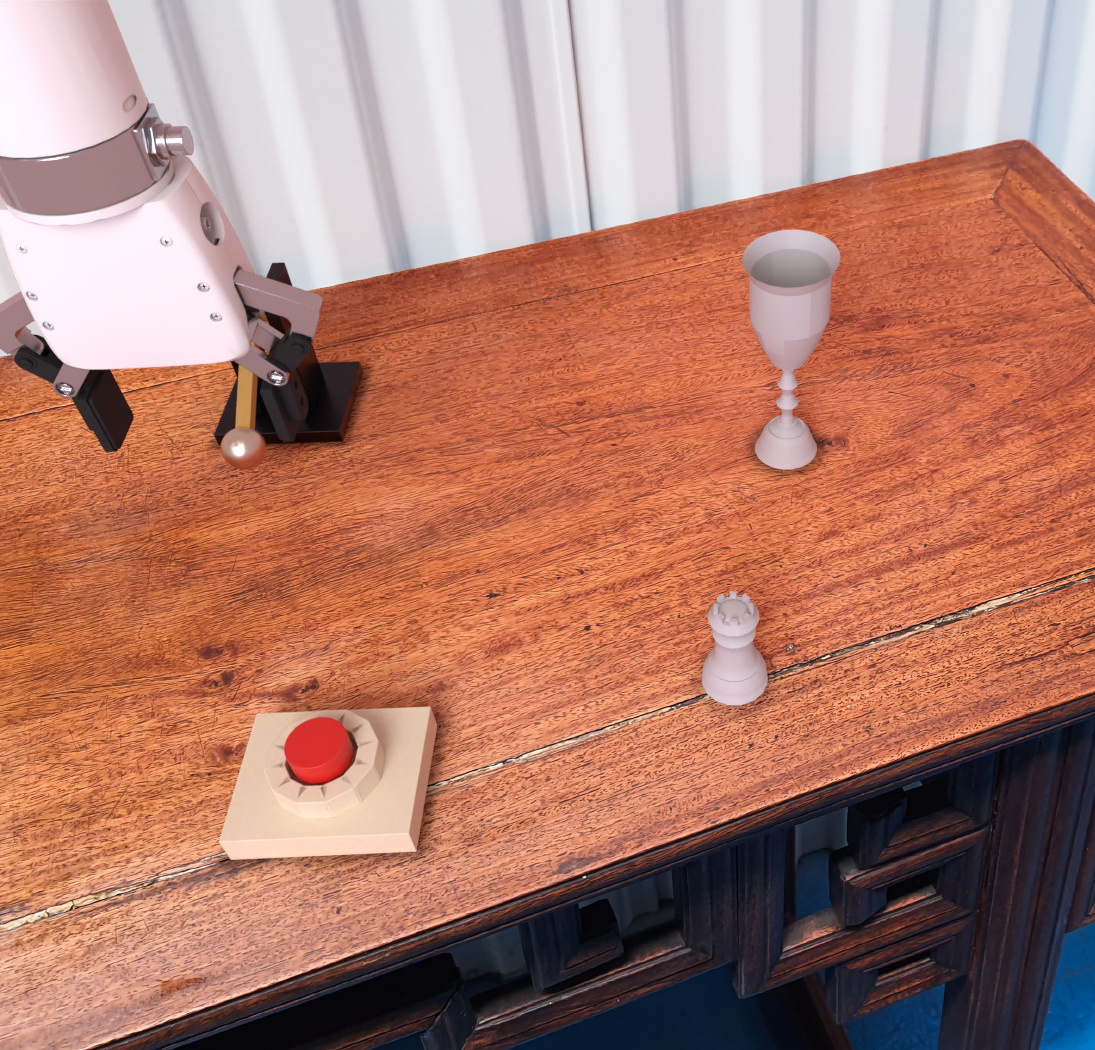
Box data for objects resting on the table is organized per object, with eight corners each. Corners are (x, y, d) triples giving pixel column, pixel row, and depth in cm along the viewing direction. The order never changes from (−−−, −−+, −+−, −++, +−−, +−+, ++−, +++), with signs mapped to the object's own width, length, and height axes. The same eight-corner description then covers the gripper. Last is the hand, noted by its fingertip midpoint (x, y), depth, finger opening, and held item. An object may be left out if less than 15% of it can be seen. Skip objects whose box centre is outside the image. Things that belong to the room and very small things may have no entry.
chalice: (767, 409, 98) (770, 220, 85) (842, 433, 96) (856, 243, 83) (728, 463, 93) (724, 272, 80) (805, 489, 91) (814, 298, 78)
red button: (286, 785, 69) (277, 769, 68) (299, 734, 71) (291, 717, 70) (347, 783, 69) (340, 767, 68) (358, 731, 71) (351, 715, 70)
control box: (230, 860, 69) (207, 826, 67) (266, 732, 76) (247, 696, 73) (416, 852, 70) (402, 818, 67) (437, 725, 76) (425, 689, 73)
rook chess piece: (761, 714, 77) (762, 639, 71) (695, 704, 77) (690, 629, 71) (773, 660, 80) (774, 584, 74) (709, 651, 80) (705, 574, 74)
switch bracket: (342, 441, 95) (298, 312, 86) (218, 445, 95) (160, 316, 85) (363, 371, 101) (323, 244, 92) (246, 375, 101) (194, 247, 91)
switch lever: (272, 473, 89) (256, 462, 85) (229, 475, 88) (211, 464, 85) (281, 289, 92) (266, 272, 89) (240, 291, 92) (223, 273, 89)
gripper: (283, 108, 57) (370, 380, 70) (-79, 124, 56) (74, 396, 69) (249, 188, 52) (349, 467, 64) (-151, 207, 51) (29, 485, 64)
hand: (207, 430), depth 67 cm, fingers open, 9 cm apart
